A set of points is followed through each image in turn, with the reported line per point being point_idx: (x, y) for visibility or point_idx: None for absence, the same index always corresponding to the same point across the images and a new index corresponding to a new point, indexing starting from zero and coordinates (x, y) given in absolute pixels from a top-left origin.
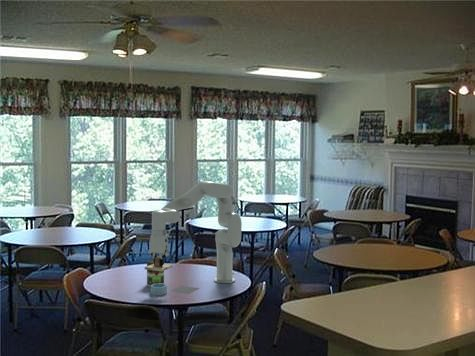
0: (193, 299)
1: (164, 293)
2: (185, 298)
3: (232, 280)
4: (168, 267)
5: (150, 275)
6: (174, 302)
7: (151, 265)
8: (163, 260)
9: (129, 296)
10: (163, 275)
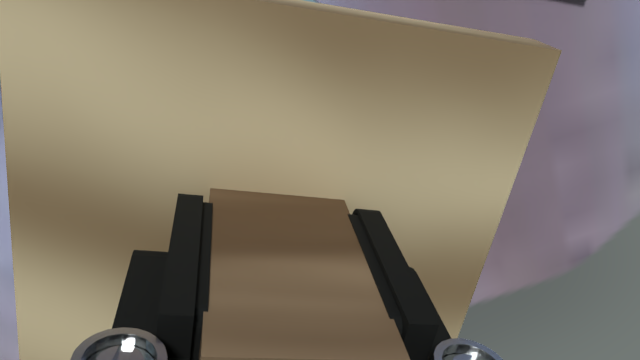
0: (636, 151)
1: None
2: (563, 146)
3: None
4: (494, 204)
5: None
6: (491, 272)
7: (70, 256)
8: (439, 336)
9: (12, 262)
10: None
